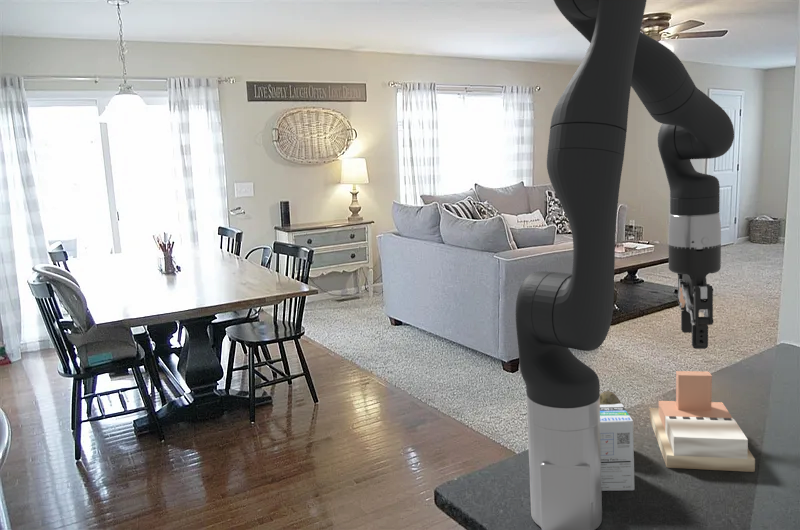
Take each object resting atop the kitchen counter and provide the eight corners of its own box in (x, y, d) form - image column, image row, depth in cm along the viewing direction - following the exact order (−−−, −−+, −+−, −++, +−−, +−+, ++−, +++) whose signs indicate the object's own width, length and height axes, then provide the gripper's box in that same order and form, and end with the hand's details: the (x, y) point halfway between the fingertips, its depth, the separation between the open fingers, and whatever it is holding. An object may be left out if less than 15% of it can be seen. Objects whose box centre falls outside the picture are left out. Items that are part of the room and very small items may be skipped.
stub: (732, 432, 99) (733, 381, 97) (664, 429, 101) (664, 380, 100) (722, 415, 105) (722, 368, 103) (658, 413, 107) (658, 367, 106)
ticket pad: (754, 471, 91) (755, 439, 90) (666, 467, 94) (666, 435, 93) (722, 420, 108) (723, 392, 107) (649, 418, 111) (649, 391, 110)
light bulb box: (624, 468, 95) (623, 401, 93) (636, 492, 88) (635, 420, 86) (552, 470, 96) (550, 403, 94) (559, 493, 89) (557, 422, 87)
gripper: (661, 236, 106) (662, 327, 109) (677, 249, 92) (677, 354, 95) (709, 234, 104) (708, 327, 107) (732, 247, 91) (731, 354, 93)
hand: (693, 339), depth 101 cm, fingers open, 8 cm apart
